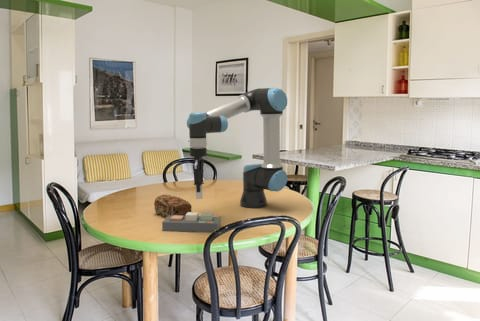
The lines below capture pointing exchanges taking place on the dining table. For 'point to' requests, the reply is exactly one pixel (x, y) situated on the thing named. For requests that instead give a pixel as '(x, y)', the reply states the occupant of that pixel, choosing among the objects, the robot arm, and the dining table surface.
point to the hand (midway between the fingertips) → (199, 198)
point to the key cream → (192, 216)
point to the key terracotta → (176, 218)
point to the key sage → (207, 217)
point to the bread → (171, 206)
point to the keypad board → (191, 225)
